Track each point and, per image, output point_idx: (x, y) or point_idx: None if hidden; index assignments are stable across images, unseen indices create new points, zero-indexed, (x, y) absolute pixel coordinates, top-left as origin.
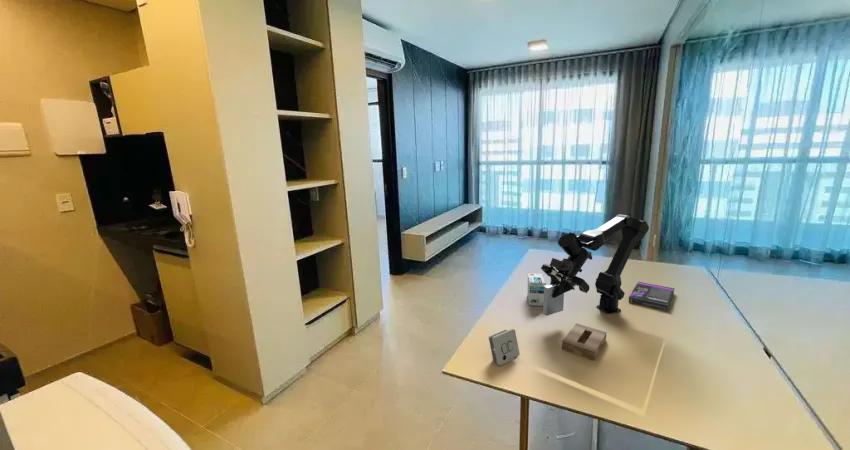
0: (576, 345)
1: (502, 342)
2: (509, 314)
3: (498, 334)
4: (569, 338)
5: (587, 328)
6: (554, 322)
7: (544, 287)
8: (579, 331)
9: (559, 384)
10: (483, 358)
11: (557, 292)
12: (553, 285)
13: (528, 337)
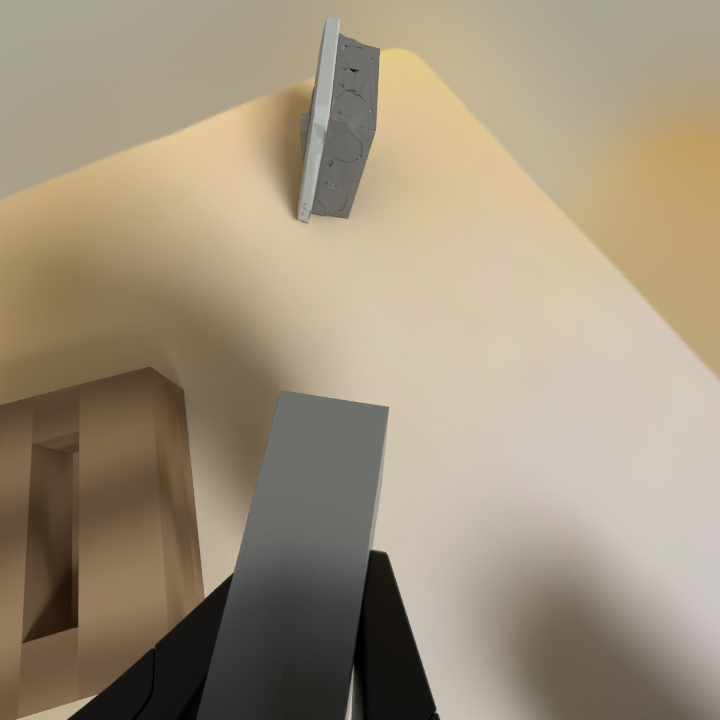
0: (67, 392)
1: (315, 80)
2: (653, 473)
3: (335, 39)
4: (126, 423)
5: (68, 666)
6: None
7: (375, 412)
8: (104, 562)
9: (101, 221)
10: (382, 129)
11: (204, 607)
12: (261, 623)
13: (374, 360)
